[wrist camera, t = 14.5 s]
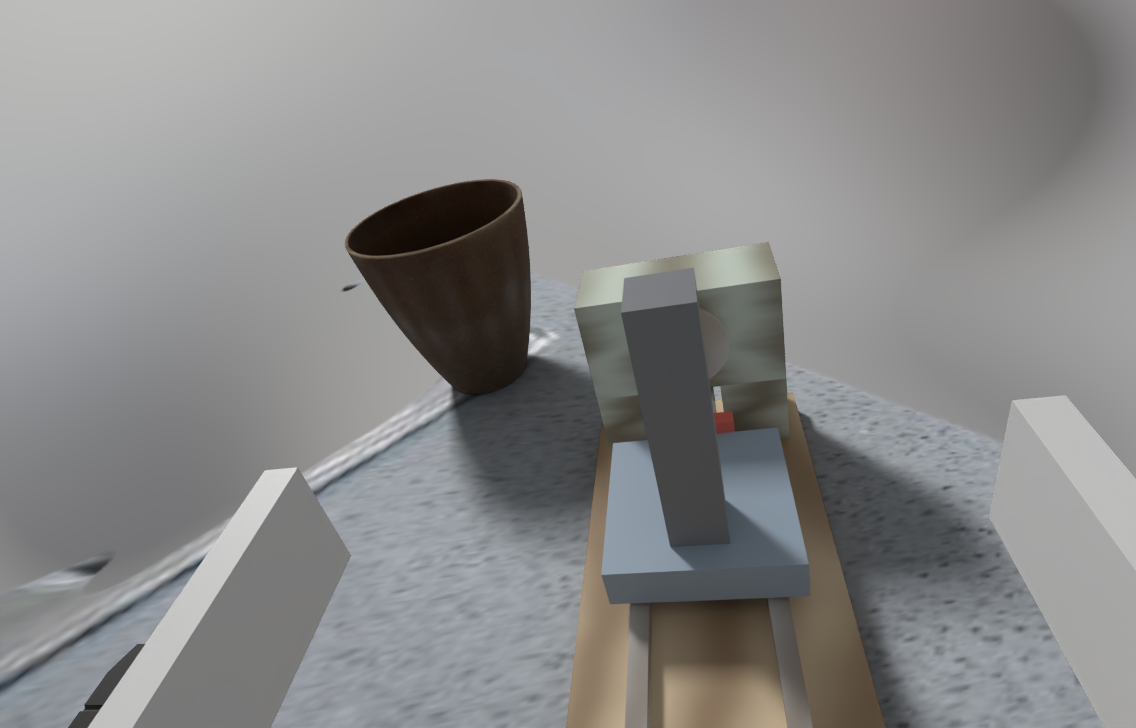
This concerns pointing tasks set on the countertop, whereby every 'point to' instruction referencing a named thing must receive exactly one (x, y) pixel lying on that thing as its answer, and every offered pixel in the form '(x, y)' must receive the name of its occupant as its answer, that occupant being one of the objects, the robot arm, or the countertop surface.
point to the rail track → (715, 627)
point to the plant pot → (454, 278)
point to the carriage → (693, 474)
